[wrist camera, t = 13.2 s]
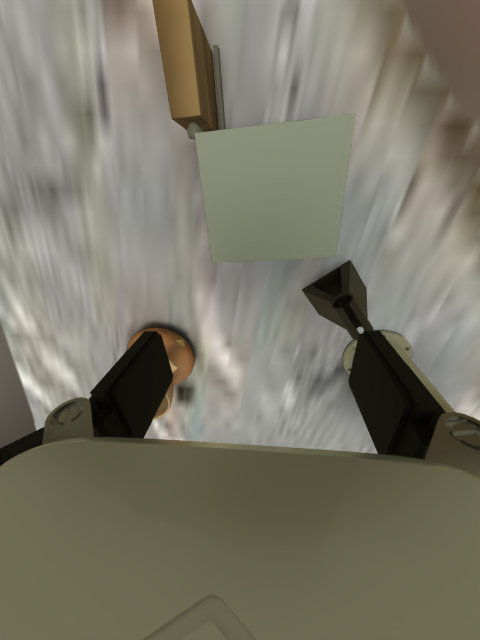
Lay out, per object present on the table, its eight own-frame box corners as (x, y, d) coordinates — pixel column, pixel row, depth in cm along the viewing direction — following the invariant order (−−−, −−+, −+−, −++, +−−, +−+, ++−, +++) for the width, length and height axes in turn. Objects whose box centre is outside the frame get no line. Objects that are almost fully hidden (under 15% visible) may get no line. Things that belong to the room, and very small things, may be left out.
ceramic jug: (167, 306, 45) (130, 348, 33) (214, 353, 50) (197, 405, 38) (117, 346, 52) (71, 394, 40) (163, 384, 57) (134, 437, 45)
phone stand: (350, 259, 37) (381, 286, 27) (365, 287, 39) (400, 322, 29) (301, 289, 41) (313, 323, 30) (318, 313, 43) (334, 352, 32)
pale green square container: (314, 236, 36) (335, 257, 25) (205, 242, 38) (179, 263, 27) (332, 30, 25) (384, -99, 14) (179, 56, 27) (117, -37, 16)
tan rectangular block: (212, 51, 27) (185, -14, 18) (219, 136, 31) (200, 115, 22) (181, 56, 28) (142, -5, 19) (192, 139, 31) (164, 119, 23)
